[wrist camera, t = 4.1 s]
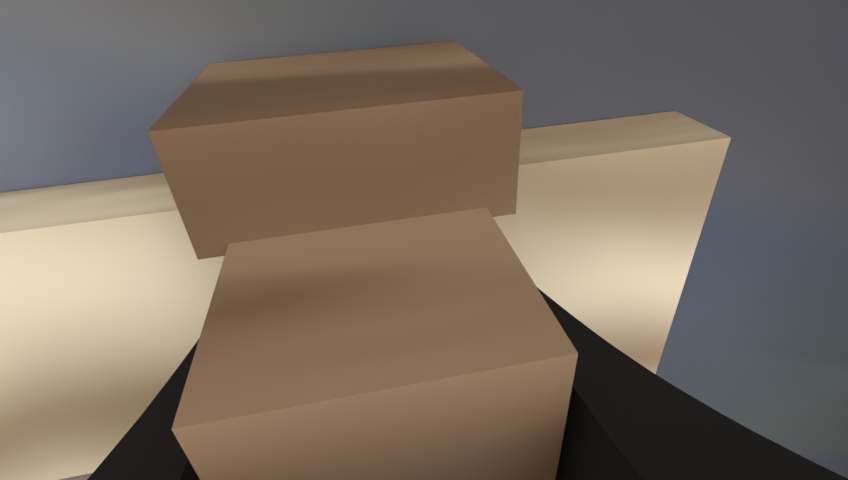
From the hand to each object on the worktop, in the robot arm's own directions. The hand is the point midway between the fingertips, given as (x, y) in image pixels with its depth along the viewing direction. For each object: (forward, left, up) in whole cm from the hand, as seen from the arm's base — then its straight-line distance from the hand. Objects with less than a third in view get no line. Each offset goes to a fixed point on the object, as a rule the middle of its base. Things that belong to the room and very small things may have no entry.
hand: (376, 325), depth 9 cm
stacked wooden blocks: (-1, 0, -4) cm, 4 cm away
